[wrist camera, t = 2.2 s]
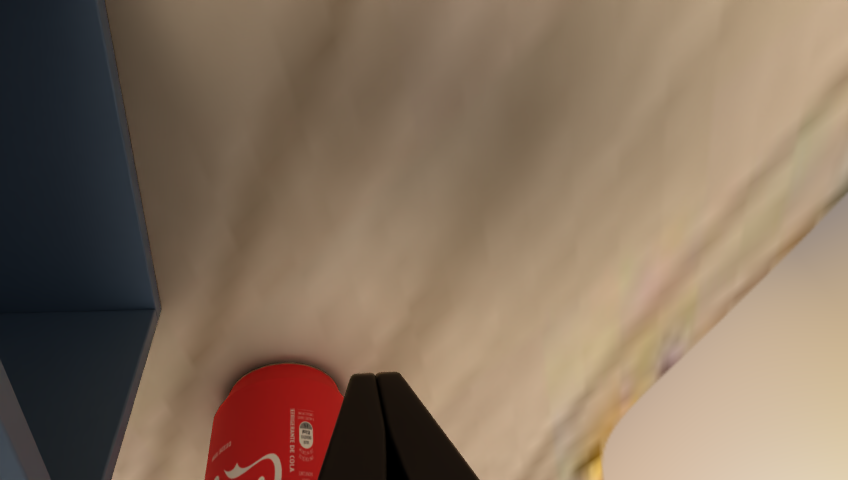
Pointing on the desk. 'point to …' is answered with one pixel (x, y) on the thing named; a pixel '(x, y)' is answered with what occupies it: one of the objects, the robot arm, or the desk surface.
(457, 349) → the desk surface
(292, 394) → the beverage can
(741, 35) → the desk surface
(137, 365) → the slate grey box
